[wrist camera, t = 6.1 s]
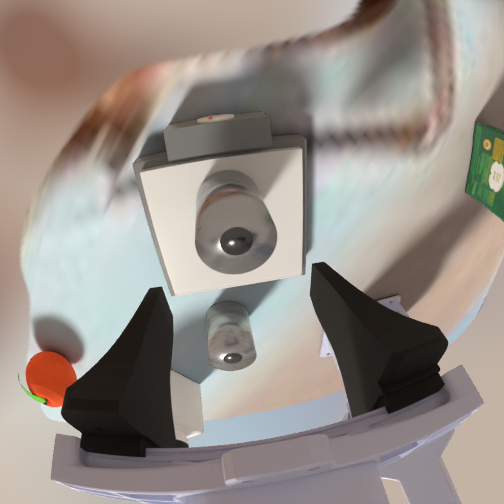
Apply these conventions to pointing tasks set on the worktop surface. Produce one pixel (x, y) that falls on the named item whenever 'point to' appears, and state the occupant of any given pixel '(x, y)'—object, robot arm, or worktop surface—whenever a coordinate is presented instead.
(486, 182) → the green cardboard box
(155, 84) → the worktop surface
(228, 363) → the spacer
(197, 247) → the spacer
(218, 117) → the scale
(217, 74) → the worktop surface
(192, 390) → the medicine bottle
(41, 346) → the worktop surface
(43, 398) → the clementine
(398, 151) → the worktop surface
